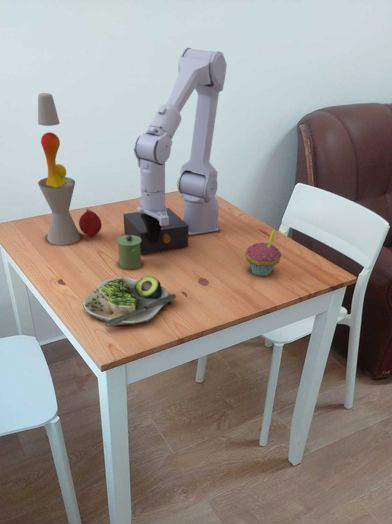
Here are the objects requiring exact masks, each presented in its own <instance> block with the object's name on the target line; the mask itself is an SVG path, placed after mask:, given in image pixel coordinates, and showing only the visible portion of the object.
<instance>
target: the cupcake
mask: <svg viewBox="0 0 392 524" xmlns="http://www.w3.org/2000/svg"><path fill="white" fill-rule="evenodd" d="M276 229H277V227H274V229H273V230H272V232H271V234H270V237H269V241H268V242H257V243H254V244H252V245H249V246H248V248H246V250H245V260H246V261H247V262H249V264H250V269H251V272H252V274H254V275H256V276H259V277H266V276H269V275H270V274H271V273H272V271H273V269H274V267H275V265H277V264H279V263H280V261H281V258H282V253H281V251H280V250H279V248H278V247H276V245H274V244H272V243H273V239H274V236H275V234H276Z"/></svg>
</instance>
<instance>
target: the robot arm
mask: <svg viewBox="0 0 392 524" xmlns="http://www.w3.org/2000/svg"><path fill="white" fill-rule="evenodd" d="M227 66H228V65H227V61H226V58H225V56H224V54H223V52H222V51H220V50H219V51H218V50H217V51H213V50H205V49H196V48H191V47H185V48H184V49H183V50H182V51H181V54H180V56H179V58H178V61H177V72H178V75H177V77H176V79H175V81H174V85H173V87H172V90H171V92H170V94H169V97H168V99H167V101H166V103H165V104H161V105H159V107H157V110H156V112H155V114H154V116H153V118H152V120H151V122H150V123H149V126H148V127H147V129H146V132H143V133H142V134H140V135H138V136H137V138H136V140H135V144H134V145H135V146H134V147H133V153H134V156H135V158H136V159H137V166H138V168H139V170H140V171H139V172H140V175H139V176H140V196H139V197H138V205H139V206H137V207H136V212H139V213H142V212H143V213H145V214H141V218H142V220H143V222H144V224H145V227H146V230H147V234H148V239H149V242H150V243H155V242H158V241H159V235H160V231H161V228H162V226H165V225H169V217H168V216H167V211H166V208H167V206H166V162H167V161H168V160H169V158H170V157H171V150H172V146H173V138H174V136H175V134H176V132H177V130H178V128H179V126H180V124H181V122H182V115H181V112H182V110H183V108H184V107H185V105H186V104H187V102H188V100H189V99H190V97H191V95H192V94H193V92H194V90H195V91H196V94H197V100H196V109H195V116H194V124H193V133H192V141H191V147H190V148H191V150H190V155H189V156H190V157H189V160H188V161H187V162H185V163H183V164H182V165H181V166H180V172H179V175H178V177H177V182H176V184H177V185H176V187H177V191H178V192H179V194H181V196H180V197H181V198H183V208H182V209H183V211H182V212H183V213H182V220H183V221H184V222H185V223H186V224H187V225H188V226H189V227H188V236H195V235H200V234H201V235H202V234H206V233H207V234H208V233H212V232H219V228H218V225H219V209H220V208H219V202H218V198H216V194H217V192H218V191H217V190H218V171H217V170H216V168H215V167H214V166H213V164H212V163H211V162H210V161H211V153H212V146H213V138H214V133H215V132H214V131H215V124H216V117H217V110H218V101H219V96H220V93H221V92H222V91H223V90H224V85H225V80H226V74H227Z"/></svg>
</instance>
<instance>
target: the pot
mask: <svg viewBox="0 0 392 524" xmlns="http://www.w3.org/2000/svg"><path fill="white" fill-rule="evenodd" d="M116 244H117V247H118V248H117V249H118V265H119V267H120V268H122V269H124V270H136V269H138V268H140V267H141V266H142V254H141V238H140V237H138V236H135V235H121V236H119V237H117V239H116Z"/></svg>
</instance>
